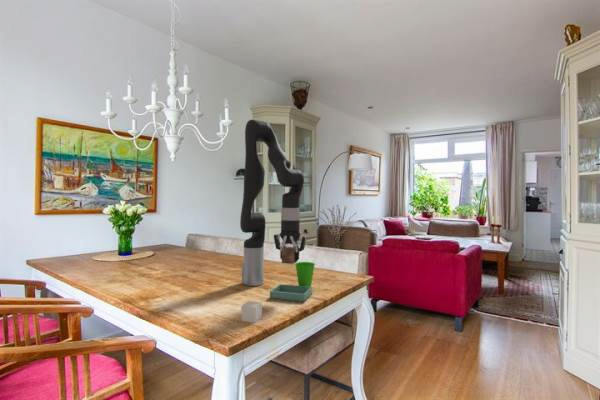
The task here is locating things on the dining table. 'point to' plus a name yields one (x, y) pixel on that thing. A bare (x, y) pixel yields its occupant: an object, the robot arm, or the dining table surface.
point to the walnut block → (288, 255)
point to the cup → (305, 273)
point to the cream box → (251, 311)
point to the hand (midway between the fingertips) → (289, 260)
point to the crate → (291, 293)
